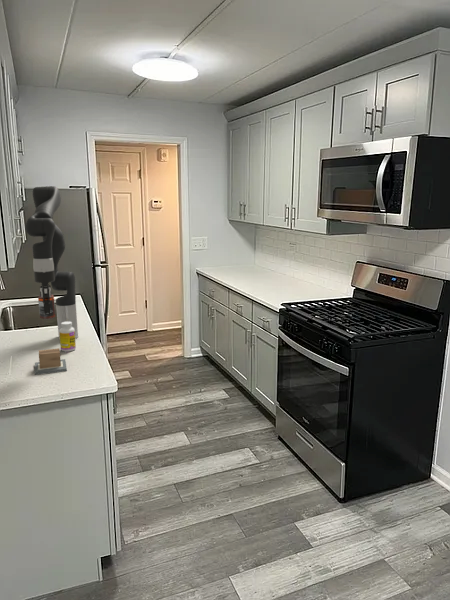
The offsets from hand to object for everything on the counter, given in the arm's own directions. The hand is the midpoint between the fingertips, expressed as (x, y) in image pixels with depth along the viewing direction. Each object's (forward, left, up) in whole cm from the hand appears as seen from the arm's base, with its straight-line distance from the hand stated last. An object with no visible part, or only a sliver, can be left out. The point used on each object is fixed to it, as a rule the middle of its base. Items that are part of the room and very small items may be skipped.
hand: (47, 311), depth 186 cm
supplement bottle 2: (-22, +8, -24) cm, 34 cm away
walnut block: (0, 0, -23) cm, 23 cm away
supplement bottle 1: (0, 0, -3) cm, 3 cm away
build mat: (0, 0, -24) cm, 24 cm away
